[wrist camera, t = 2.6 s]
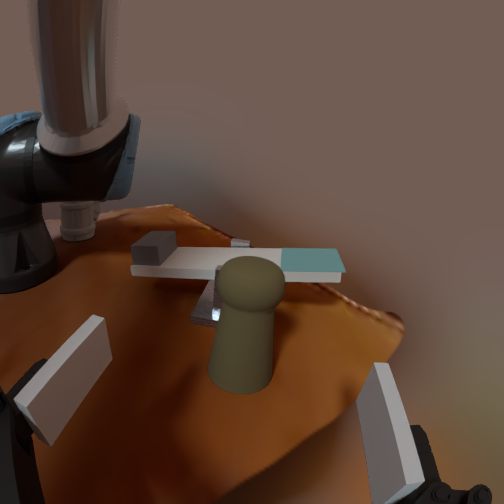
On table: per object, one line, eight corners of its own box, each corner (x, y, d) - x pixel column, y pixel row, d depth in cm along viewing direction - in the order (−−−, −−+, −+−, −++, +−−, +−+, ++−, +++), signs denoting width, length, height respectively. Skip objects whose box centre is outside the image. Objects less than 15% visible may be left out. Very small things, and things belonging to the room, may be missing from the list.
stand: (190, 322, 32) (191, 269, 30) (214, 276, 43) (217, 233, 41) (252, 334, 32) (260, 280, 29) (262, 284, 43) (268, 241, 40)
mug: (53, 239, 48) (49, 178, 44) (86, 222, 59) (85, 169, 55) (81, 244, 48) (78, 179, 44) (113, 226, 59) (113, 170, 54)
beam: (132, 275, 34) (126, 247, 33) (154, 254, 40) (151, 229, 39) (344, 282, 31) (347, 251, 30) (335, 258, 37) (337, 231, 36)
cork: (195, 362, 26) (197, 254, 22) (245, 342, 30) (258, 243, 26) (233, 404, 22) (247, 289, 18) (285, 376, 26) (311, 270, 22)
